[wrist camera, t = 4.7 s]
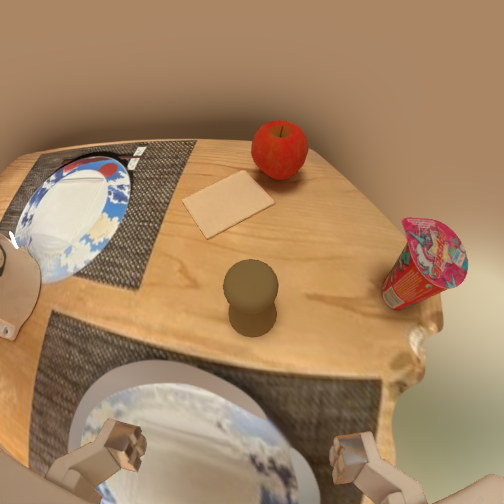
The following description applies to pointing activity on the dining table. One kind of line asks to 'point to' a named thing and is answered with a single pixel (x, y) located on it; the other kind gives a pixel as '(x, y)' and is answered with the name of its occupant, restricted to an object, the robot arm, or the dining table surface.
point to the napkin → (226, 203)
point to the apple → (279, 149)
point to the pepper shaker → (251, 297)
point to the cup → (425, 264)
